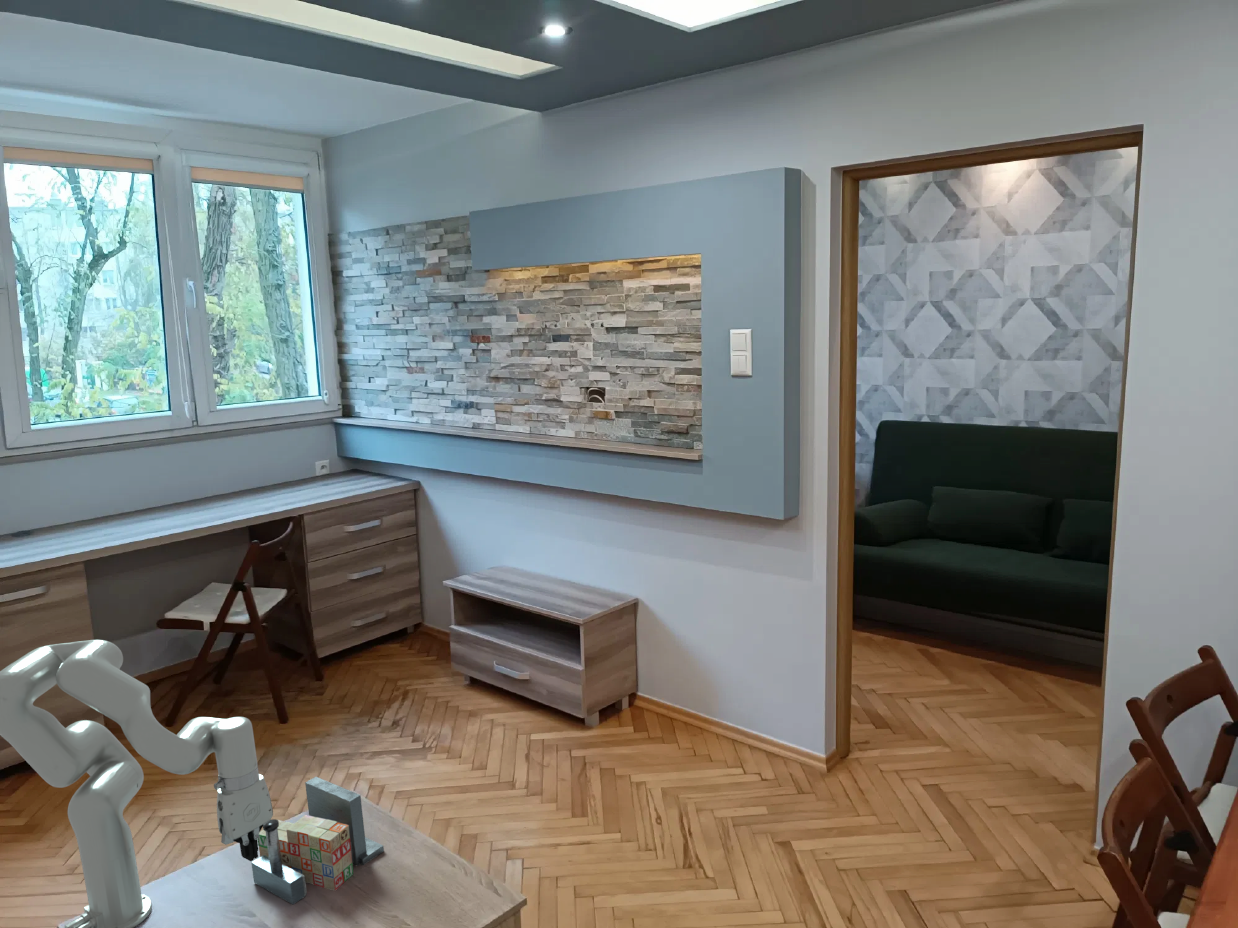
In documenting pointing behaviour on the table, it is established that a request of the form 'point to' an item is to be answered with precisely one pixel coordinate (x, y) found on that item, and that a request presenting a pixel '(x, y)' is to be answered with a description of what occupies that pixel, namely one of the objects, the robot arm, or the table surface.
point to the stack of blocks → (314, 850)
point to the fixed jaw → (342, 816)
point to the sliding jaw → (277, 870)
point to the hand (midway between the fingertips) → (250, 857)
